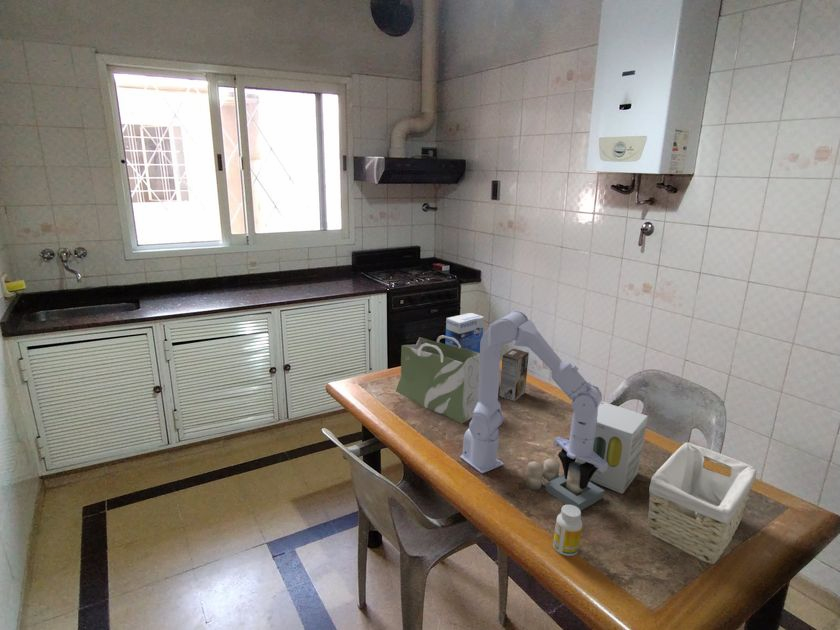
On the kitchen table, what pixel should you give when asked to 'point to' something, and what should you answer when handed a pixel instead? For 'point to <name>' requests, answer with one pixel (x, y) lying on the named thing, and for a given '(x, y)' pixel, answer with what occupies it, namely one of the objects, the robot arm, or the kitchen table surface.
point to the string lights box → (465, 331)
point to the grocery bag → (441, 377)
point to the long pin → (574, 479)
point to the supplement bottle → (568, 530)
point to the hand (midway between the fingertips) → (575, 482)
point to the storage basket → (698, 501)
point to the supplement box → (618, 445)
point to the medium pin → (534, 475)
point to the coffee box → (513, 374)
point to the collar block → (581, 501)
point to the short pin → (551, 469)
